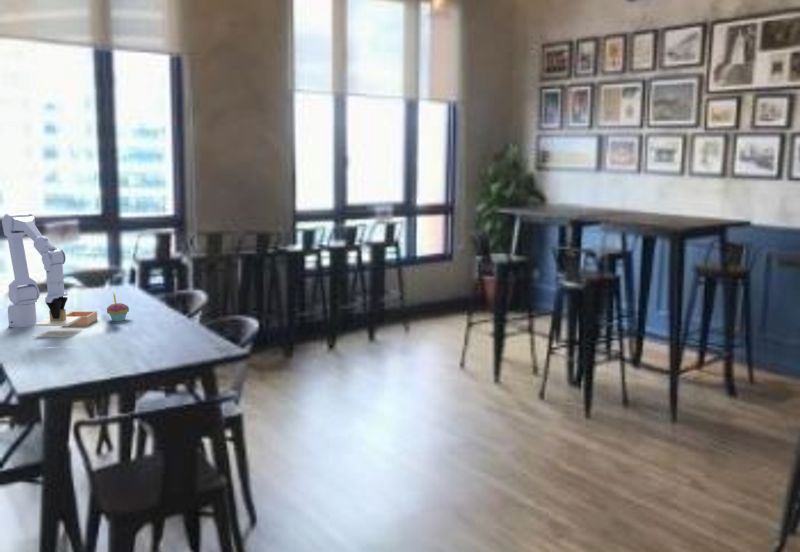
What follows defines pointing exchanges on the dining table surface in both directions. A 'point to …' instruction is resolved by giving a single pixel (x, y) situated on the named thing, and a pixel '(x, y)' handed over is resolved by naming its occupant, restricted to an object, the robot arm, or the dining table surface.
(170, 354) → the dining table surface
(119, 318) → the cupcake
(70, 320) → the lid
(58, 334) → the mat
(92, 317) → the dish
